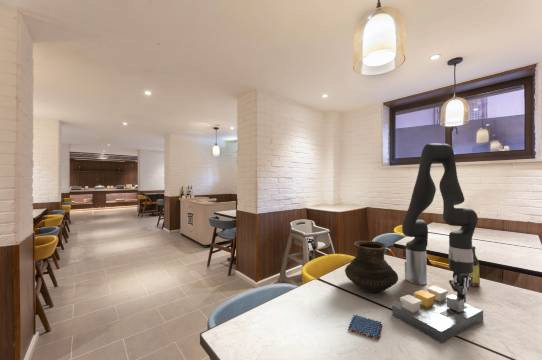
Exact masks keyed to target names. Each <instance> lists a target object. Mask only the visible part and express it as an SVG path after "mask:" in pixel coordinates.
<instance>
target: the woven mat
mask: <svg viewBox="0 0 542 360" xmlns="http://www.w3.org/2000/svg"><path fill="white" fill-rule="evenodd" d="M347 330H348V331H349V330H350V331H349V332H350V333H352V332H355V333H356V335H358V334H359V335H360V336H362V337H364V336H365V337H366V338H370V337H372V339H373V341H375V340H376V341H378V339H379V340H380V339H381V338H382V337H381V335H382V330H383V323H382V321H380V320H379V321H378V320H375V319H372V318H369V317H368V318H367V317H365V316H362V315H359V314H353V316H352V318H351V321H350V323H349V326H348V329H347ZM351 331H352V332H351ZM361 334H362V335H361Z"/></svg>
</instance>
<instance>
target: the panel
mask: <svg viewBox="0 0 542 360" xmlns="http://www.w3.org/2000/svg"><path fill="white" fill-rule="evenodd" d="M427 292H428V293H429V291H427ZM447 296H448V295H446V300H443V301H441V302H440V301H438V300H436V299H434V304H433V305H431V306H428V307H427V306H424V305H422V304H420V310H419V311H416V312H414V313H413V312H411V311H409V310H407V309H405V308H403V307H402V301H401V302H398V303H397V302H396V303H395V304H393V305H391V309H392V310H391V316H392V317H394V318H396V319H398V320H399V319H400V320H399V321H401V322H403V323H405V324H407V325H408V326H409V327H411V328H414V329H415V330H417V331H419V332H420V333H422V334H423V335H426V336H427V337H429V338H431V339H433V340H434V341H436V342H438V343H440V344H441V343H442V344H444V343H446V342H447V341H449V340H451V339H454V338H455V337H456V336H458V335H460V334H462V333H464V332H466V331H467V330H469V329H471V328H473V327H475V326H476V325H478V324H480V323H482V322H484V310H483V309H481V308H479V307H475V306H473V305H471V304H468V303H466V302H465V303H464V310H462V311H460V312H457V311H455V310H453V309H451V308H448V307H447ZM414 297H415V298H416V296H414Z"/></svg>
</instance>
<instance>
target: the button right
mask: <svg viewBox="0 0 542 360" xmlns="http://www.w3.org/2000/svg"><path fill="white" fill-rule="evenodd" d="M426 292H429V293H431V294H433V295H435V296H436V298H435V299H436V300H438V301H440V302H441V301H443V300H446V296H447V295H448V293H449V291H448V290H447V289H444V288H442V287H439V286H437V285H431V286H429V287H427V288H426Z"/></svg>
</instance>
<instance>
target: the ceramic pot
mask: <svg viewBox="0 0 542 360" xmlns="http://www.w3.org/2000/svg"><path fill="white" fill-rule="evenodd" d="M353 245H354V246H355V247H356V252H357V253H356V254H357V255H356V256H355V257H354V258H353V259H352V260H351V262H350V263H349V264H347V265H346V267H345V269H344V273H345V276H346V278H348V279H349V280H350V282H351V283H353V284H354V285H355V286H356V287H358V288H360V289H361V290H363V291H365V292H367V293H371V294H378V293H381V292H384V291H387V290H388V289H390V288H391V287H393V286H394V285H396V284H397V283H398V281H399V276H398V273H397V272H396V271H395V270H394V268H393V267H392V266H391V265H390V264H389V263H388V262H387V261H386V260H385V249H386V248H388V245H387V244H386V243H383V242H379V241H374V240H372V241H371V240H357V241H354V243H353Z"/></svg>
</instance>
